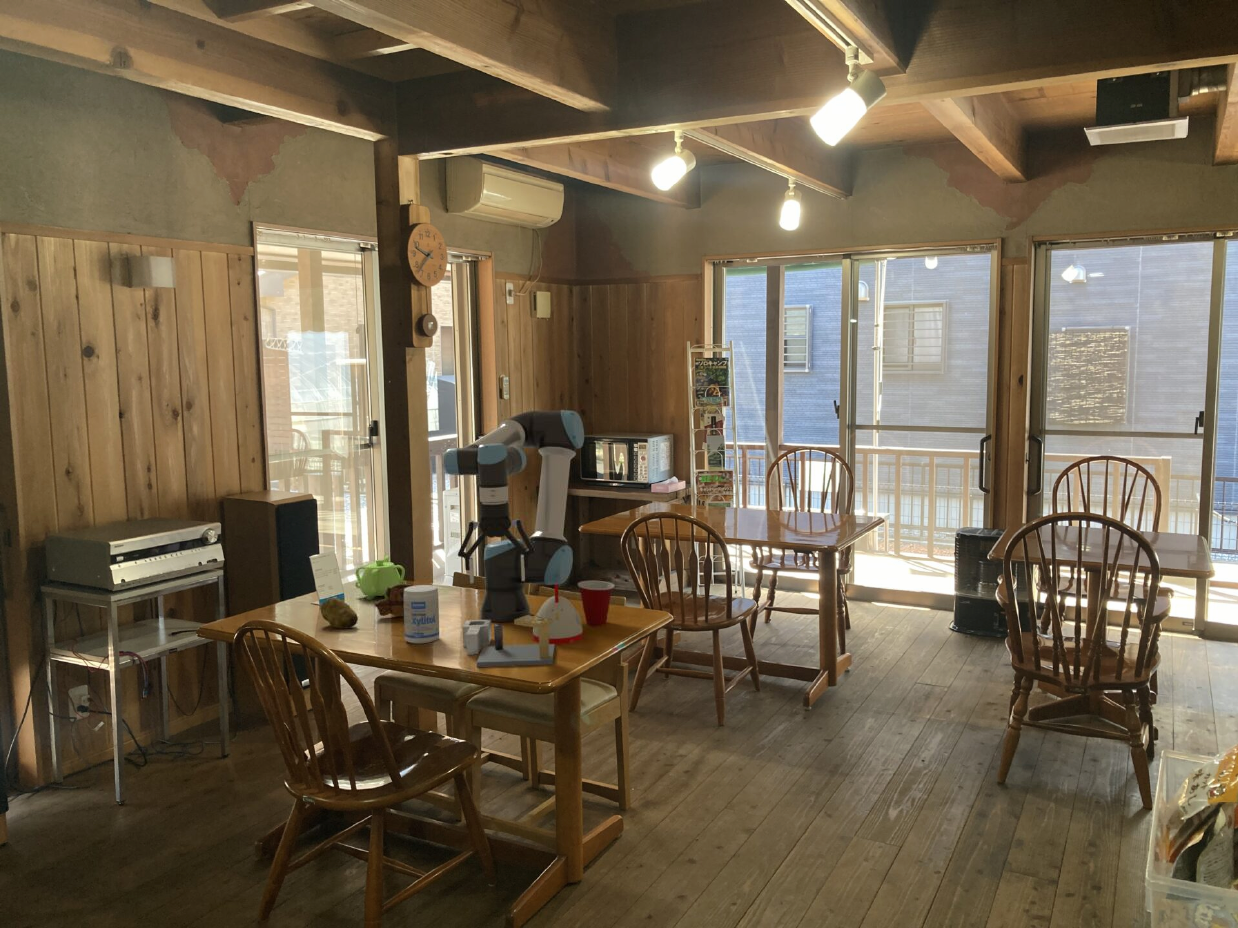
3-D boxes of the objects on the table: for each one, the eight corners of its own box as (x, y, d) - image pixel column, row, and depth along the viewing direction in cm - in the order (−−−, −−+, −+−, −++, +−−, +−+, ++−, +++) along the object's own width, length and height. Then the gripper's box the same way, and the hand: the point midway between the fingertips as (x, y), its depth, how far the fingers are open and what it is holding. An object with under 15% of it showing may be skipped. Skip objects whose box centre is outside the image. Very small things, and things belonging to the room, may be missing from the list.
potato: (333, 633, 278) (331, 605, 277) (318, 624, 288) (316, 598, 288) (360, 628, 283) (359, 601, 282) (345, 619, 293) (344, 594, 293)
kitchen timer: (532, 645, 260) (530, 591, 259) (533, 632, 274) (531, 580, 272) (583, 643, 261) (582, 589, 260) (582, 630, 275) (580, 578, 273)
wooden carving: (377, 621, 290) (376, 589, 290) (374, 618, 295) (373, 586, 294) (431, 614, 298) (429, 582, 297) (427, 611, 302) (426, 580, 301)
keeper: (528, 650, 251) (527, 615, 250) (555, 655, 246) (554, 619, 245) (515, 655, 246) (514, 619, 246) (543, 660, 241) (542, 623, 241)
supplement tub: (413, 646, 262) (411, 593, 260) (399, 639, 269) (396, 588, 268) (446, 639, 268) (443, 588, 266) (430, 633, 275) (428, 582, 274)
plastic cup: (616, 627, 276) (615, 586, 275) (579, 628, 276) (577, 587, 275) (614, 617, 287) (613, 578, 286) (578, 619, 287) (577, 579, 286)
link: (466, 639, 267) (465, 620, 267) (491, 638, 267) (491, 619, 267) (459, 655, 252) (458, 634, 252) (485, 654, 252) (484, 633, 252)
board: (483, 650, 256) (483, 646, 256) (554, 648, 256) (554, 643, 256) (476, 666, 241) (476, 662, 241) (552, 664, 242) (552, 659, 242)
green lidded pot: (350, 595, 327) (348, 559, 326) (389, 589, 336) (387, 553, 335) (370, 603, 314) (368, 565, 313) (410, 596, 323) (408, 559, 322)
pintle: (495, 647, 254) (494, 624, 253) (503, 647, 254) (502, 623, 253) (494, 650, 252) (493, 626, 251) (502, 649, 252) (501, 625, 251)
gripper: (445, 506, 249) (449, 586, 251) (541, 502, 250) (544, 581, 253) (448, 502, 256) (452, 579, 258) (541, 498, 258) (544, 575, 260)
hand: (497, 581), depth 256 cm, fingers open, 13 cm apart
